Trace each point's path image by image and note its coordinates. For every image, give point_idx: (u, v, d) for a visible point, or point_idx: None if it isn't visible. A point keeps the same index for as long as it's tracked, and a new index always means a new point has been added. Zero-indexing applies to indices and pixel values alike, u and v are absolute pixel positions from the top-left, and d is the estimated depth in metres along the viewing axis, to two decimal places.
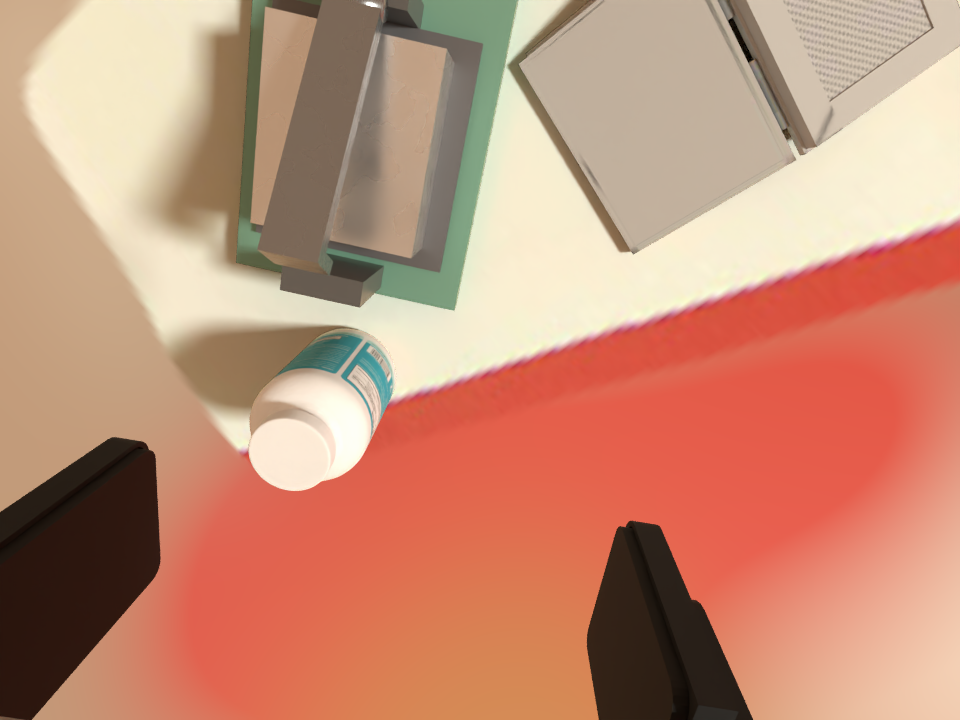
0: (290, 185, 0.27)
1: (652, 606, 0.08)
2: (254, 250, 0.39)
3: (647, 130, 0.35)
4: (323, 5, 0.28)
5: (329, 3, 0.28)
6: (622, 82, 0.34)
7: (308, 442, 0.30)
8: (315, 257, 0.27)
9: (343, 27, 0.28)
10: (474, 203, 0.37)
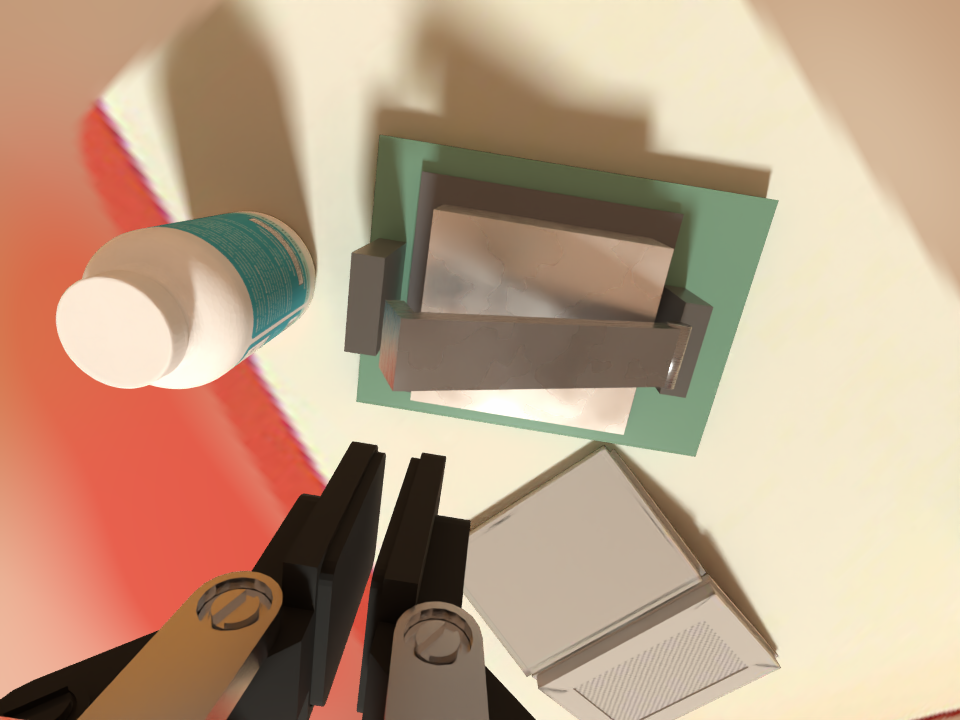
0: (483, 340, 0.22)
1: (398, 513, 0.10)
2: (398, 161, 0.30)
3: (548, 563, 0.38)
4: (671, 331, 0.26)
5: (672, 337, 0.26)
6: (588, 541, 0.37)
7: (142, 362, 0.22)
8: (399, 387, 0.22)
9: (648, 356, 0.26)
10: (474, 419, 0.35)
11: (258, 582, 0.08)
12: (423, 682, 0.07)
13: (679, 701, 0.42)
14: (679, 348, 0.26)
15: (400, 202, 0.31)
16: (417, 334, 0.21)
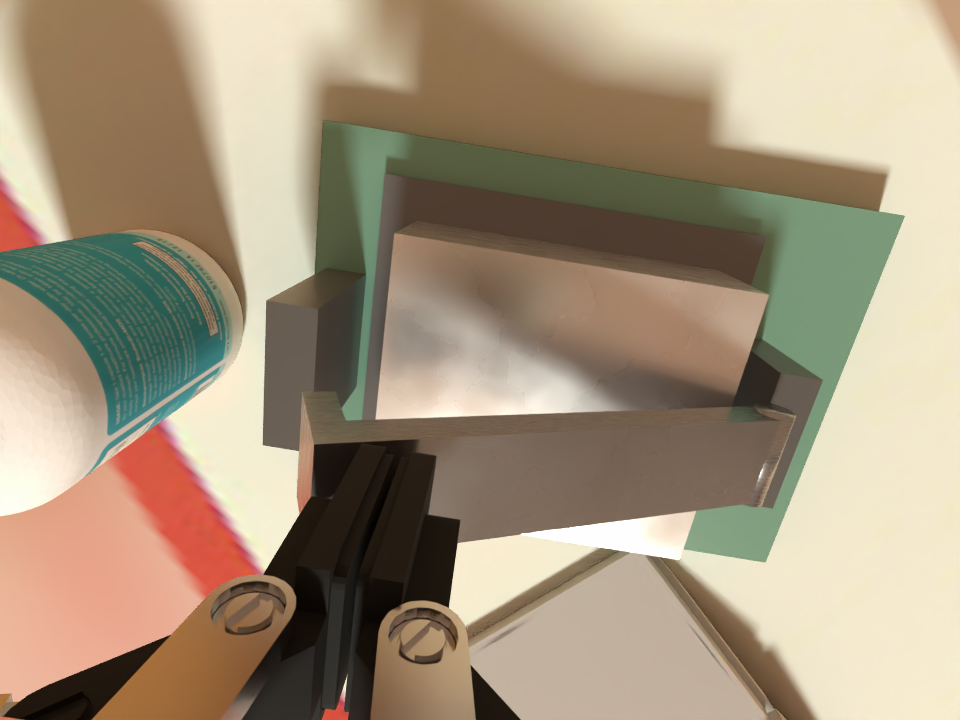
0: (467, 465, 0.13)
1: (386, 512, 0.10)
2: (351, 159, 0.21)
3: (562, 693, 0.29)
4: (765, 424, 0.17)
5: (767, 432, 0.17)
6: (615, 666, 0.28)
7: None
8: None
9: (730, 464, 0.17)
10: None
11: (271, 586, 0.08)
12: (409, 682, 0.07)
13: None
14: (776, 448, 0.17)
15: (355, 217, 0.22)
16: (347, 467, 0.12)
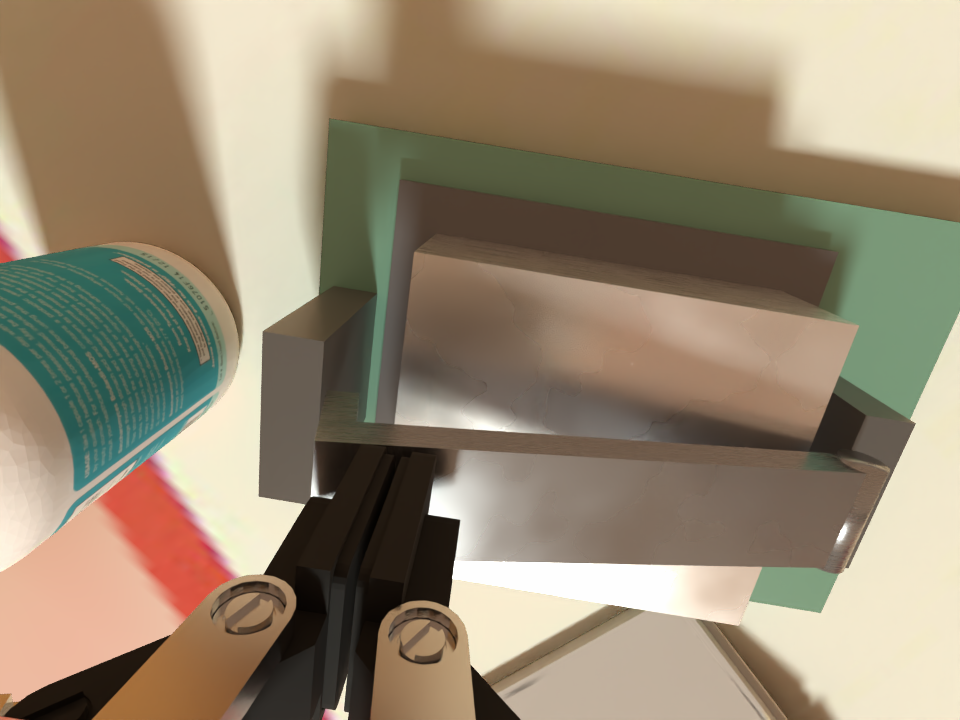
0: (474, 481, 0.12)
1: (386, 512, 0.10)
2: (361, 164, 0.18)
3: None
4: (846, 476, 0.14)
5: (848, 486, 0.14)
6: None
7: None
8: None
9: (797, 517, 0.14)
10: None
11: (271, 585, 0.08)
12: (408, 682, 0.07)
13: None
14: (860, 506, 0.14)
15: (366, 229, 0.19)
16: (347, 468, 0.12)
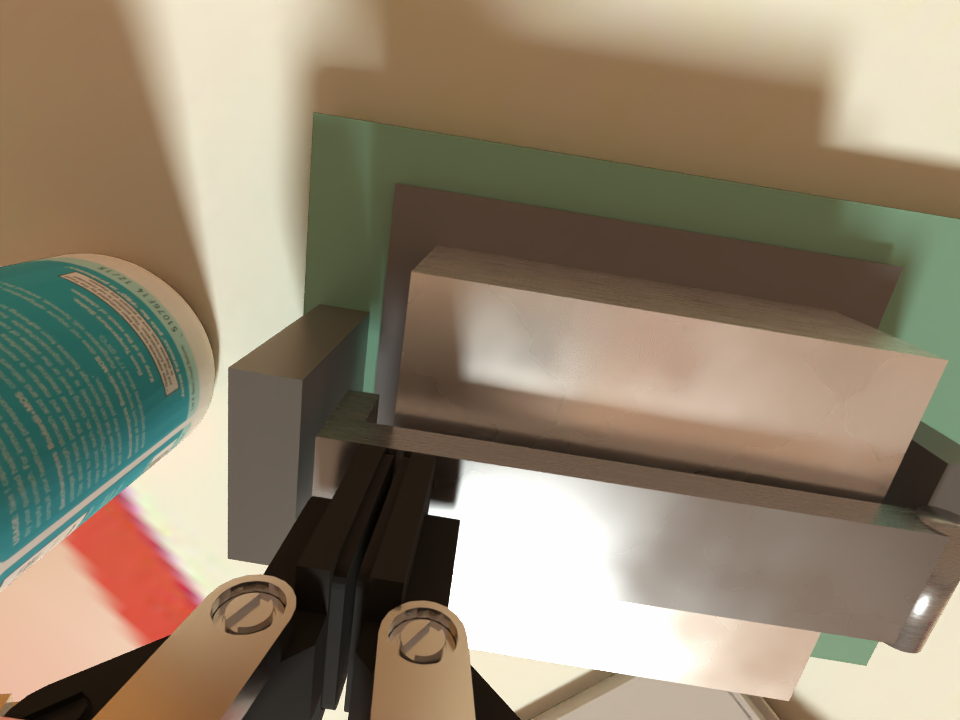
0: (475, 494, 0.12)
1: (386, 512, 0.10)
2: (351, 165, 0.16)
3: None
4: (922, 537, 0.12)
5: (925, 549, 0.12)
6: None
7: None
8: None
9: (857, 578, 0.12)
10: None
11: (271, 585, 0.08)
12: (408, 682, 0.07)
13: None
14: (942, 576, 0.12)
15: (356, 240, 0.17)
16: (347, 467, 0.12)
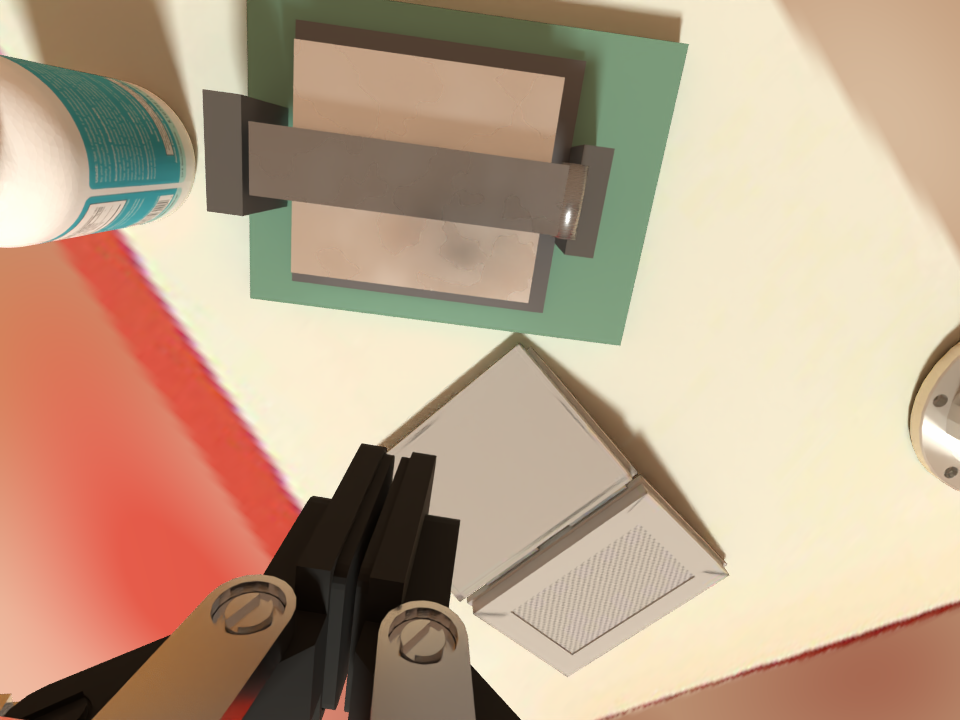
0: (331, 152, 0.23)
1: (386, 512, 0.10)
2: (270, 11, 0.27)
3: (470, 476, 0.36)
4: (556, 166, 0.24)
5: (559, 174, 0.24)
6: (510, 447, 0.35)
7: None
8: (254, 192, 0.24)
9: (530, 194, 0.24)
10: (380, 313, 0.32)
11: (271, 585, 0.08)
12: (409, 682, 0.07)
13: (627, 620, 0.40)
14: (570, 189, 0.24)
15: (277, 60, 0.28)
16: (265, 139, 0.23)
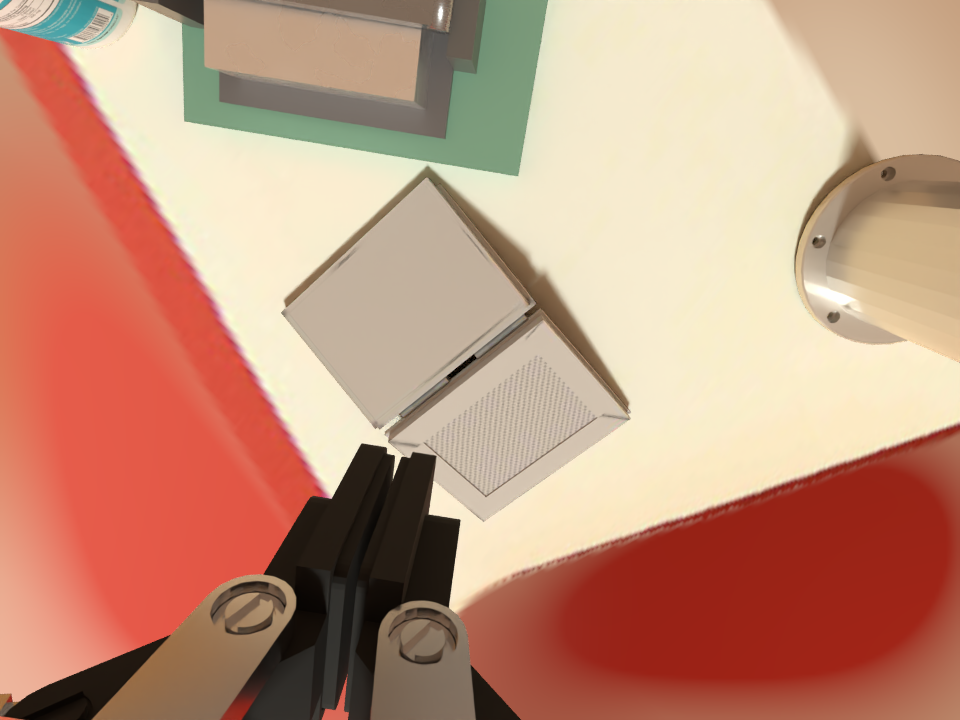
0: None
1: (386, 512, 0.10)
2: None
3: (384, 305, 0.39)
4: None
5: None
6: (419, 277, 0.38)
7: None
8: None
9: None
10: (300, 138, 0.36)
11: (271, 586, 0.08)
12: (409, 681, 0.07)
13: (535, 462, 0.43)
14: None
15: None
16: None
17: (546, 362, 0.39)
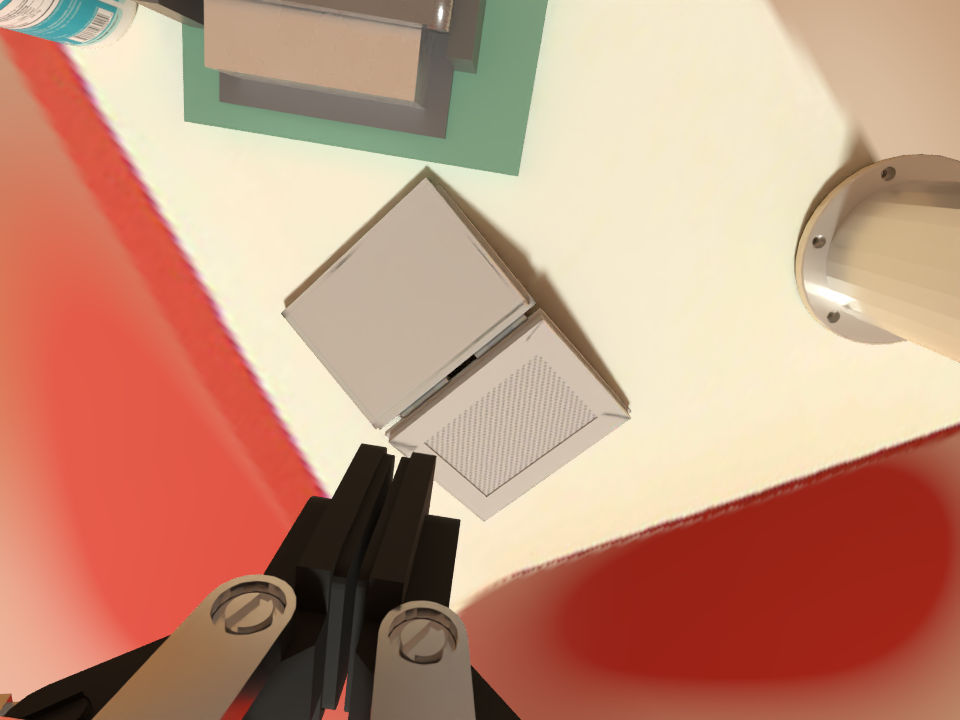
0: None
1: (386, 512, 0.10)
2: None
3: (384, 306, 0.39)
4: None
5: None
6: (419, 277, 0.38)
7: None
8: None
9: None
10: (300, 138, 0.36)
11: (271, 586, 0.08)
12: (408, 682, 0.07)
13: (536, 461, 0.43)
14: None
15: None
16: None
17: (546, 362, 0.39)
